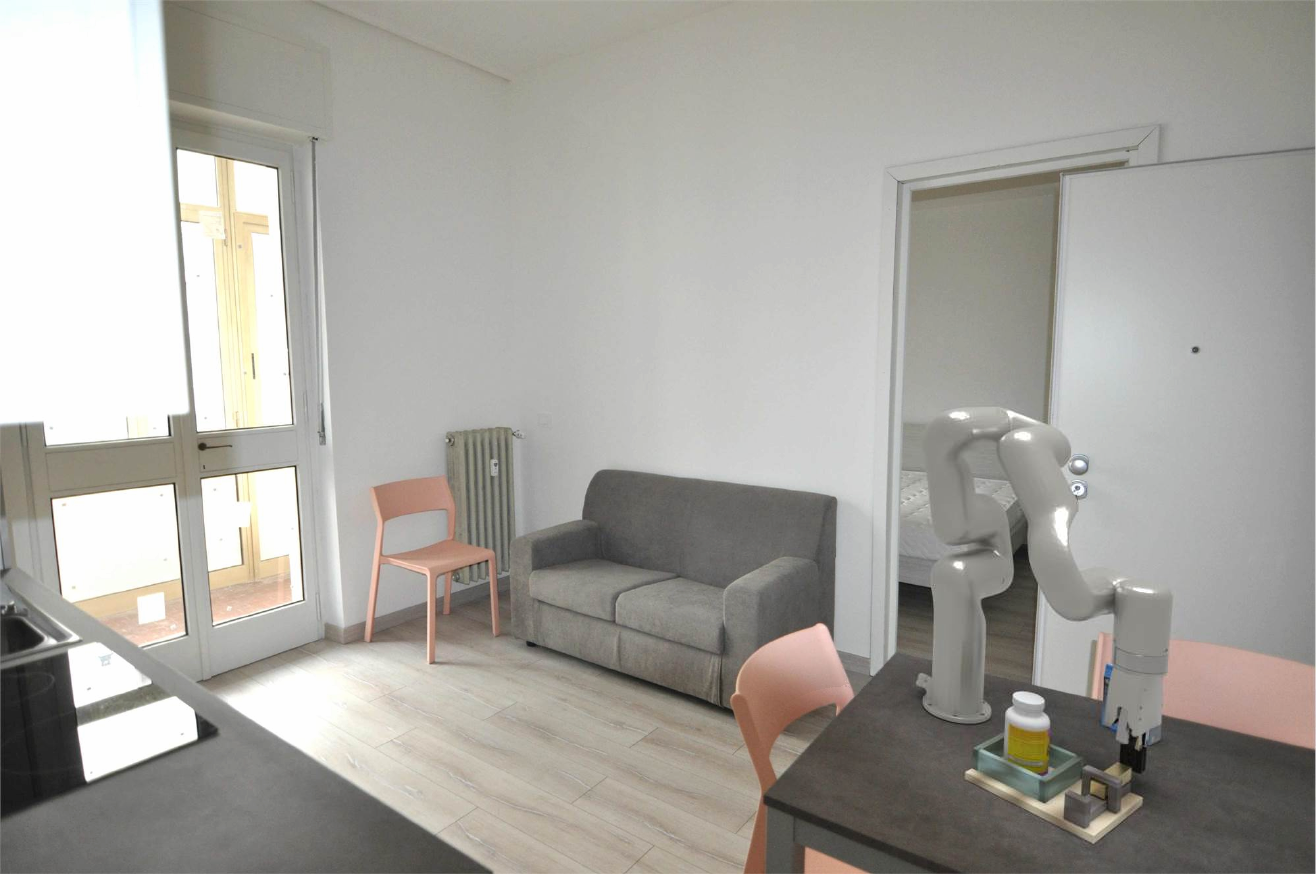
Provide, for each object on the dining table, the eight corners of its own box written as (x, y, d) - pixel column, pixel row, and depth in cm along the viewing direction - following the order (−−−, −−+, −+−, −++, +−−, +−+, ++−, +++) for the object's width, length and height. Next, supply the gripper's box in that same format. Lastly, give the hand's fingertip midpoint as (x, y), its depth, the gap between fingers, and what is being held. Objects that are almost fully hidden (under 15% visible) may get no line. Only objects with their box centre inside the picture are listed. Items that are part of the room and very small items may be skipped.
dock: (964, 779, 120) (966, 743, 119) (1016, 749, 129) (1018, 716, 128) (1093, 843, 104) (1096, 803, 103) (1142, 804, 113) (1144, 767, 112)
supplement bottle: (1053, 785, 116) (1057, 708, 115) (1009, 781, 117) (1013, 705, 116) (1040, 763, 122) (1043, 690, 121) (998, 759, 124) (1001, 687, 122)
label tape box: (1161, 741, 132) (1166, 676, 131) (1149, 746, 130) (1153, 680, 129) (1112, 720, 140) (1116, 658, 139) (1099, 725, 138) (1103, 662, 137)
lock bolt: (1090, 792, 111) (1090, 780, 111) (1116, 773, 116) (1117, 761, 116) (1104, 799, 109) (1104, 786, 109) (1130, 779, 114) (1131, 767, 114)
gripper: (1133, 641, 122) (1126, 744, 124) (1092, 662, 114) (1085, 773, 116) (1185, 655, 116) (1177, 764, 118) (1146, 679, 108) (1138, 796, 110)
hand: (1132, 768), depth 117 cm, fingers closed
